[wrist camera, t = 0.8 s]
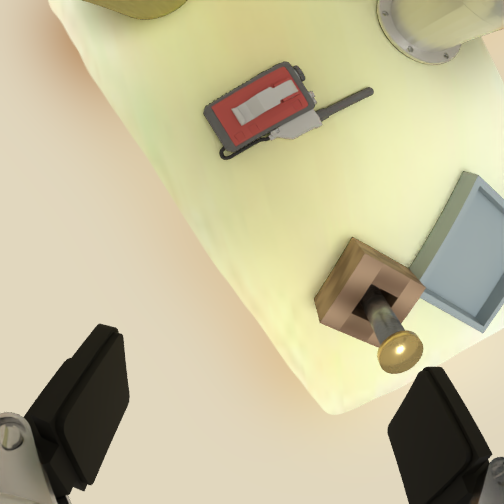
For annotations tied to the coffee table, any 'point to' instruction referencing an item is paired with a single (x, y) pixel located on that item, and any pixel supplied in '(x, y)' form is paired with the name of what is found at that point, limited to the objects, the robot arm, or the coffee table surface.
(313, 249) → the coffee table surface
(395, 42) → the robot arm
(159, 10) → the potted cactus
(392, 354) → the pin
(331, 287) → the holder block
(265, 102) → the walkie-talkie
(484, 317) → the tray
